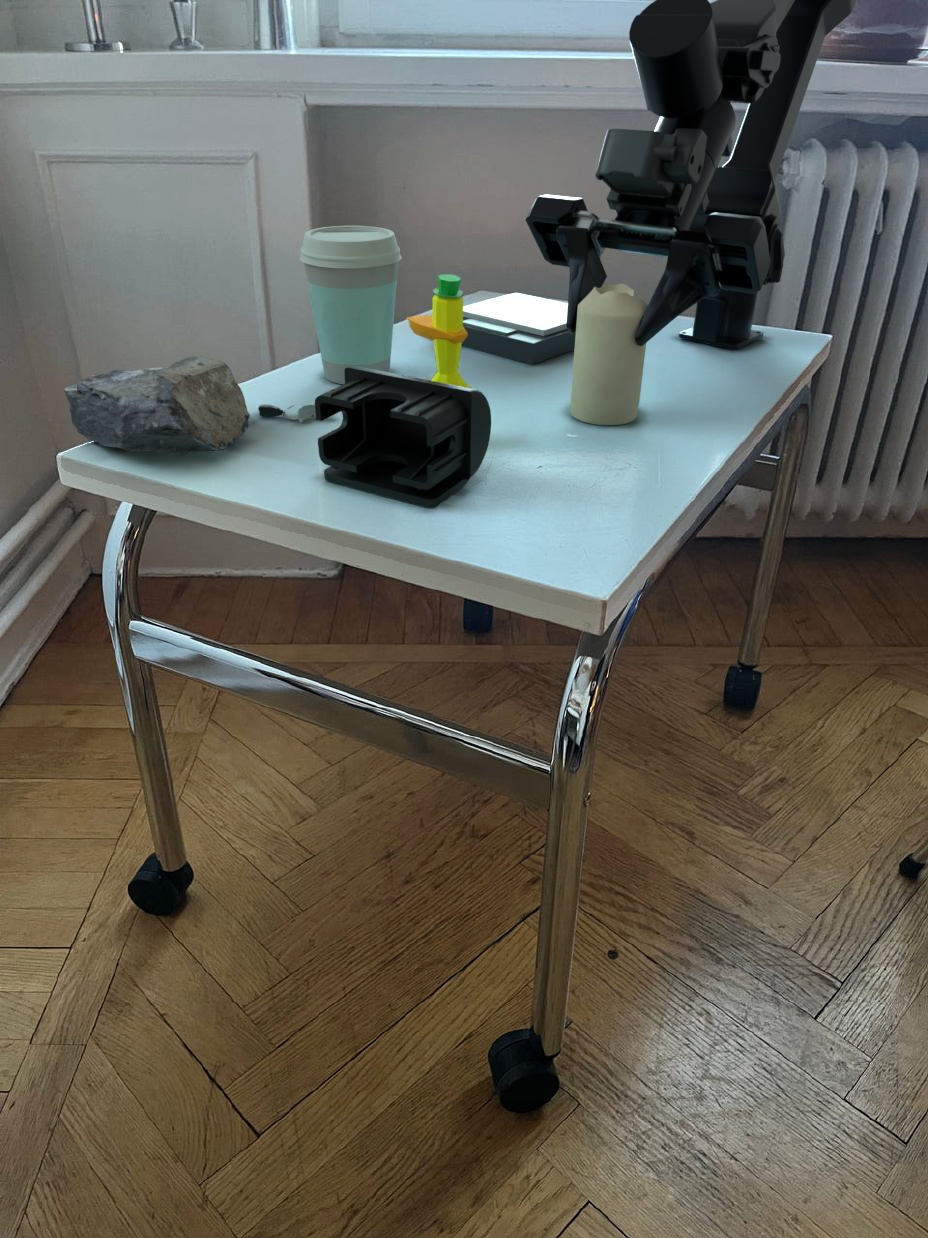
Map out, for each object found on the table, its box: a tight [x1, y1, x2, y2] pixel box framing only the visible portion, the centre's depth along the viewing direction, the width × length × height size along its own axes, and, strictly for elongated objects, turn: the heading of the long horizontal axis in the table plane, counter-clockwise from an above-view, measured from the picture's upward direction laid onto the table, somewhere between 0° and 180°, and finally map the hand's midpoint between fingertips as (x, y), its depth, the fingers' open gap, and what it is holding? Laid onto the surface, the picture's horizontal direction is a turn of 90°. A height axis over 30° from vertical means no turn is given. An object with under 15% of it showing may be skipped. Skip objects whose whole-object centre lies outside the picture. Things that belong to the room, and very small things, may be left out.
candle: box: [569, 283, 648, 426], centre depth 72 cm, size 6×6×10 cm
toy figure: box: [406, 273, 473, 389], centre depth 66 cm, size 7×4×12 cm, turn 43°
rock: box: [63, 355, 251, 455], centre depth 67 cm, size 14×11×5 cm
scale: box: [461, 292, 576, 365], centre depth 93 cm, size 13×13×3 cm
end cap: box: [314, 366, 492, 509], centre depth 62 cm, size 10×7×7 cm
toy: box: [257, 403, 316, 424], centre depth 72 cm, size 1×8×2 cm
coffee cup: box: [299, 225, 403, 385], centre depth 79 cm, size 8×8×12 cm
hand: (603, 336), depth 70 cm, fingers closed on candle, 5 cm apart
